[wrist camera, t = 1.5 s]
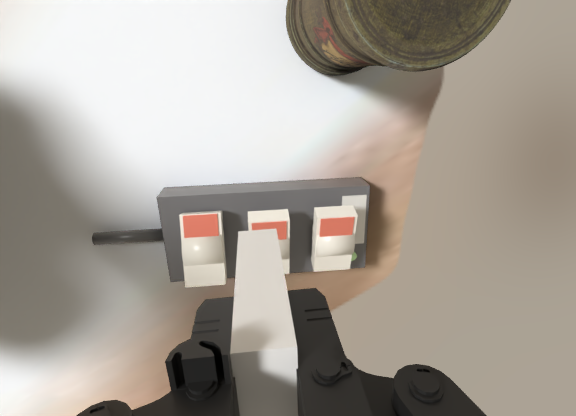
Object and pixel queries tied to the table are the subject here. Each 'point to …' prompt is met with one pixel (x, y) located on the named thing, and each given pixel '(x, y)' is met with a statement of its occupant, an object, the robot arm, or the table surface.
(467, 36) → the container
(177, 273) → the rocker switch panel
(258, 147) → the table surface
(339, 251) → the rocker
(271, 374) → the robot arm
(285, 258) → the rocker
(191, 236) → the rocker
